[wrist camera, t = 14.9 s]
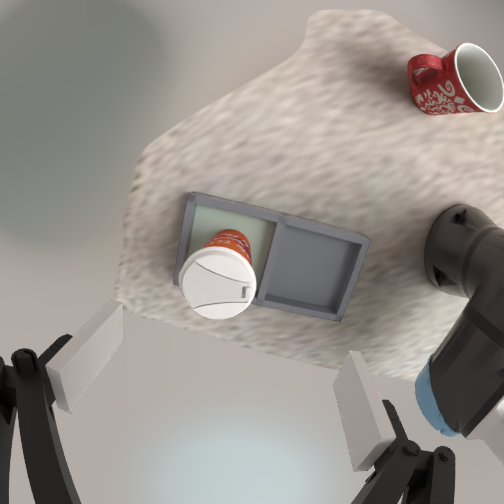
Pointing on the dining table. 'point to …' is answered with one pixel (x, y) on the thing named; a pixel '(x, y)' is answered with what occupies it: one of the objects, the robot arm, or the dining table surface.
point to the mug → (456, 82)
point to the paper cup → (219, 276)
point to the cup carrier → (281, 254)
